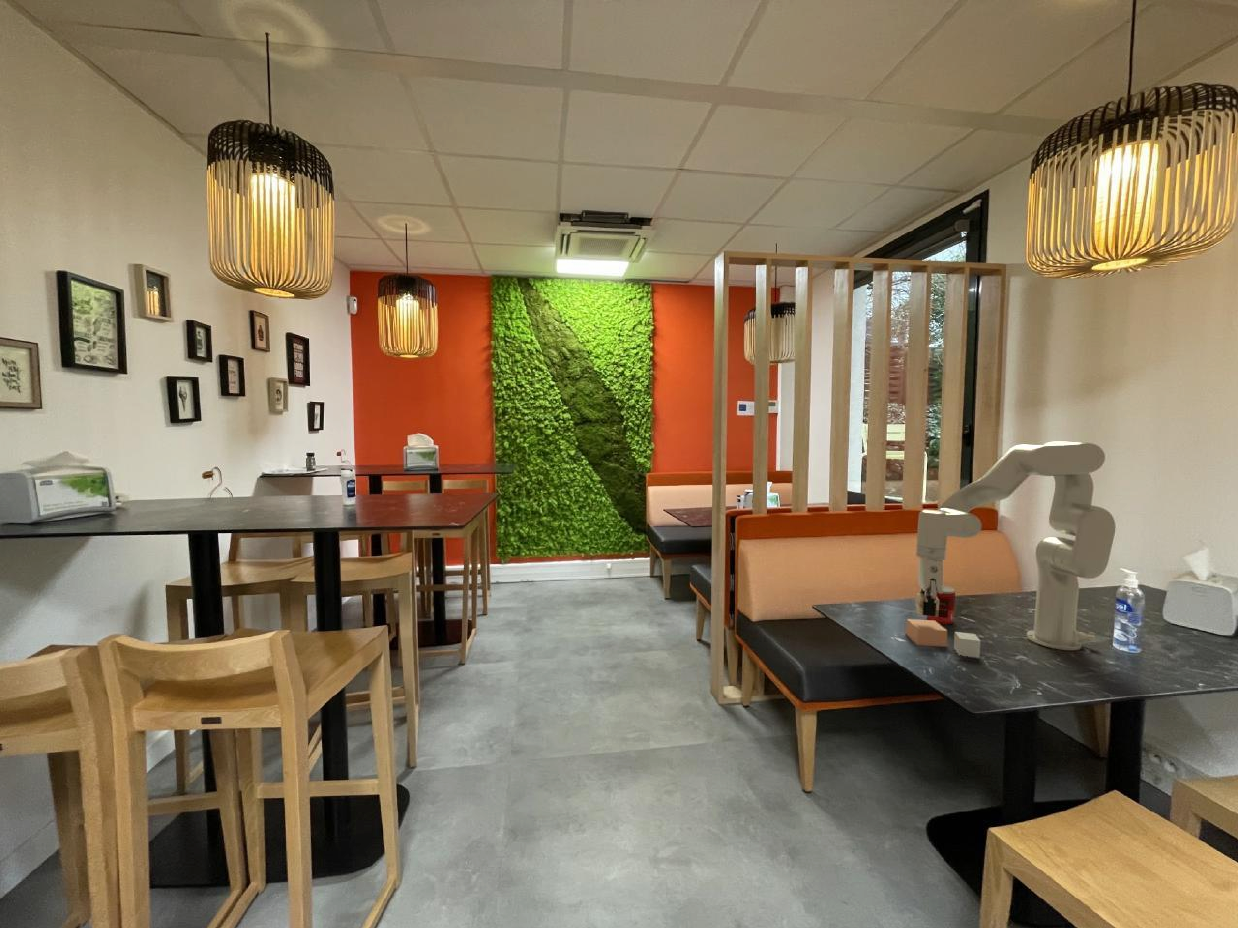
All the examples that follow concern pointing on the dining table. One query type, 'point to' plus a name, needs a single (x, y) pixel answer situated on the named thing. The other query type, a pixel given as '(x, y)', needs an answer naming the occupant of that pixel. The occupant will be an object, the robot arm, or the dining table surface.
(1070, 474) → the robot arm
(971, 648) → the pale green-grey cube
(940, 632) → the terracotta block
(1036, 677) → the dining table surface
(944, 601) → the canned food
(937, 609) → the maple cube
